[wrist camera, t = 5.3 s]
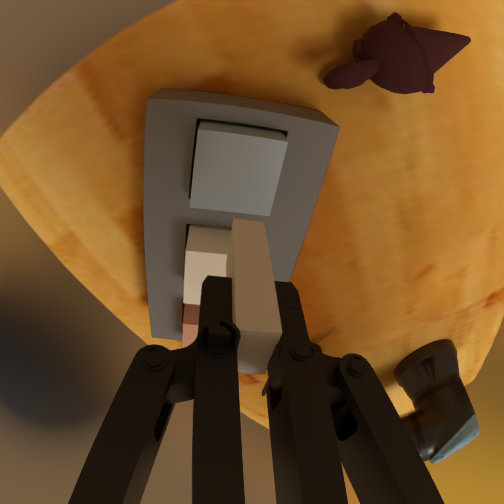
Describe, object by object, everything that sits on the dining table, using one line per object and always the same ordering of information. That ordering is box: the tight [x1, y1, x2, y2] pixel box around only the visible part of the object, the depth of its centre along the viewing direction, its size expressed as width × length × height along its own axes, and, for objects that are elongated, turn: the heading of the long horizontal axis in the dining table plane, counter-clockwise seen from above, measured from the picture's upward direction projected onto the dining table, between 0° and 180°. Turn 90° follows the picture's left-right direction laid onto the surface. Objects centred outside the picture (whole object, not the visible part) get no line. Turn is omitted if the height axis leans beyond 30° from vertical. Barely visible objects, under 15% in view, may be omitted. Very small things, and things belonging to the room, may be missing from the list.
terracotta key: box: [182, 304, 200, 348], centre depth 32 cm, size 6×6×4 cm
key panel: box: [143, 89, 339, 340], centre depth 30 cm, size 27×14×5 cm, turn 170°
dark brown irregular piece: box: [323, 12, 471, 94], centre depth 18 cm, size 7×7×15 cm
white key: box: [183, 224, 232, 305], centre depth 27 cm, size 6×6×4 cm
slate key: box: [190, 119, 288, 217], centre depth 22 cm, size 6×6×4 cm
